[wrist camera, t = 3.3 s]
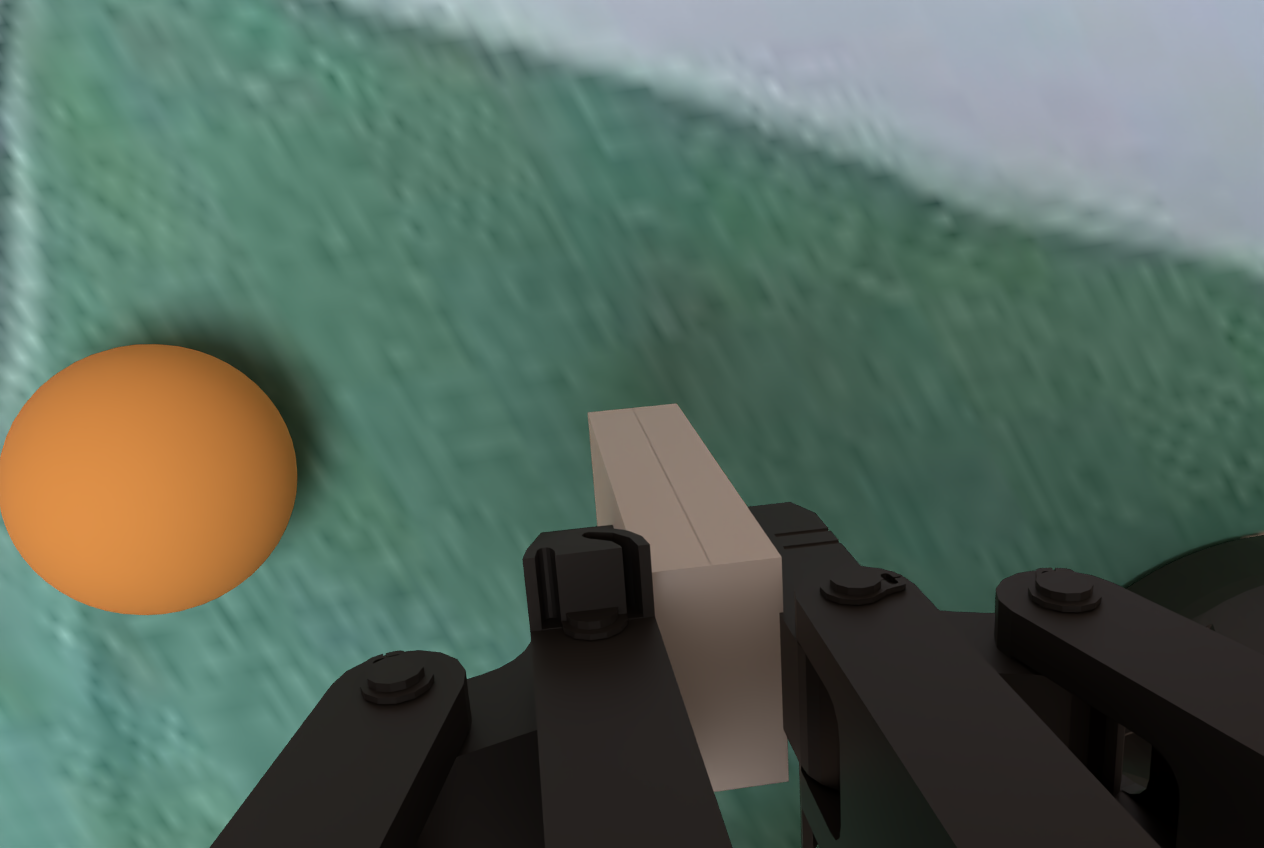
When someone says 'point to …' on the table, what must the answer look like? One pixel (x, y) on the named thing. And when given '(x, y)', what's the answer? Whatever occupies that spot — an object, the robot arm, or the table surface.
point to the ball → (147, 479)
